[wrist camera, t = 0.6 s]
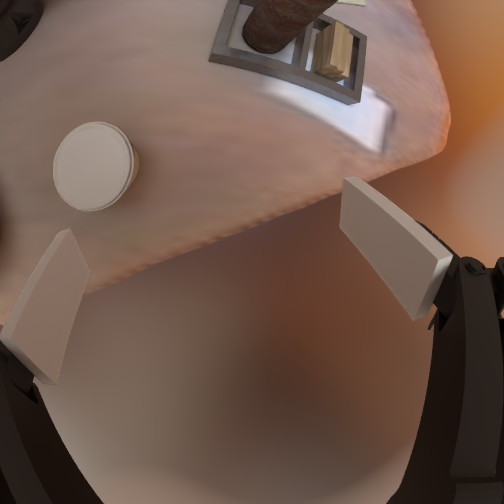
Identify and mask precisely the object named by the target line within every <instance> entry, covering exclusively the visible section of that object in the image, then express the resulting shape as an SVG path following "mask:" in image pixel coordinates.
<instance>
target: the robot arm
mask: <svg viewBox="0 0 504 504" xmlns="http://www.w3.org/2000/svg"><path fill="white" fill-rule="evenodd" d="M43 9H44V3H43V0H0V61H2V60H4V59H5V58H7V57H8V56H10V55H11V54H12V53H13V52H14V51H16V50H17V49H18V48H19V47H20V46H21V45H22V44H23V43H24V41H25V40H26V39H27V38H28V37H29V35H30V34H31V33H32V31H33V30H34V28H35V27H36V25H37V24H38V22H39V20H40V18H41V15H42V13H43ZM340 229H341V230H342V231H343V232H344V233H345V234H346V235H347V236H348V238H349V239H350V240H351V241H352V243H353V244H354V245H355V246H356V247H357V249H358V250H359V251H360V252H361V253H362V254H363V256H364V257H365V258H366V259H367V261H368V262H369V263H370V264H371V266H372V267H373V268H374V269H375V270H376V272H377V273H378V274H379V276H380V277H381V278H382V280H383V281H384V282H385V284H386V285H387V286H388V287H389V289H390V290H391V291H392V292H393V294H394V295H395V297H396V298H397V299H398V301H399V302H400V303H401V305H402V306H403V307H404V309H405V310H406V312H407V313H408V314H409V316H410V317H411V319H412V320H413V321H414V320H416V319H418V318H421V317H423V316H425V315H427V314H428V312H429V310H430V308H431V306H432V304H433V303H434V304H435V306H436V307H437V308H438V309H437V311H436V313H435V315H434V317H433V319H432V320H431V323H430V324H429V327H428V330H430V329H431V327H432V326H433V324H434V336H433V349H432V359H431V367H430V373H429V380H428V386H427V392H426V397H425V403H424V407H423V412H422V416H421V421H420V425H419V429H418V433H417V437H416V440H415V443H414V447H413V450H412V454H411V457H410V460H409V463H408V466H407V469H406V471H405V474H404V477H403V479H402V482H401V484H400V487H399V488H398V490H397V491H396V493H395V494H394V495H393V496H392V497H391V498H390V499H389V500H388V502H387V503H386V504H504V318H502V316H501V312H502V310H503V309H504V257H500V258H499V259H498V260H497V262H496V265H495V267H494V268H486V267H485V266H484V265H483V264H482V263H481V262H480V261H478V260H477V259H475V258H472V257H467V256H466V257H462V258H460V257H459V256H458V255H457V254H456V253H455V252H454V251H453V250H452V249H451V248H450V247H449V246H447V245H446V244H445V243H444V242H443V241H442V240H441V239H439V238H438V237H437V236H436V235H435V234H434V233H432V231H431V230H430V229H428V228H427V227H426V226H425V225H423V224H422V223H420V222H418V221H416V220H414V219H412V218H411V217H410V216H408V215H407V214H406V213H405V212H404V211H402V210H401V209H400V208H398V207H397V206H396V205H395V204H394V203H392V202H391V201H390V200H388V199H387V198H386V197H384V196H383V195H381V194H380V193H379V192H378V191H376V190H375V189H374V188H372V187H371V186H369V185H368V184H367V183H365V182H364V181H363V180H361V179H360V178H358V177H357V176H354V177H343V188H342V203H341V215H340ZM90 276H91V271H90V269H89V267H88V265H87V263H86V261H85V259H84V257H83V255H82V252H81V250H80V248H79V246H78V244H77V242H76V239H75V237H74V235H73V232H72V230H71V228H69V229H65V230H62V231H59V232H58V233H57V235H56V236H55V238H54V239H53V240H52V242H51V243H50V245H49V246H48V248H47V249H46V251H45V252H44V254H43V255H42V257H41V259H40V260H39V262H38V263H37V265H36V267H35V268H34V270H33V271H32V273H31V275H30V277H29V278H28V280H27V282H26V283H25V285H24V287H23V289H22V291H21V292H20V294H19V296H18V298H17V300H16V302H15V304H14V306H13V308H12V310H11V312H10V314H9V316H8V318H7V320H6V322H5V325H4V327H3V329H2V331H1V334H0V504H104V503H103V502H102V501H101V499H100V498H99V497H98V496H97V495H96V493H95V492H94V490H93V489H92V487H91V486H90V485H89V484H88V482H87V480H86V479H85V477H84V476H83V474H82V473H81V471H80V470H79V468H78V467H77V465H76V463H75V462H74V460H73V459H72V457H71V455H70V454H69V452H68V450H67V448H66V447H65V445H64V443H63V441H62V439H61V437H60V436H59V434H58V432H57V430H56V428H55V426H54V424H53V422H52V419H51V417H50V415H49V413H48V411H47V409H46V406H45V404H44V402H43V399H42V397H41V394H40V392H39V389H38V387H37V386H36V384H34V383H33V378H34V376H35V377H36V378H37V379H38V380H40V381H41V382H42V383H43V384H49V385H57V382H58V377H59V373H60V369H61V365H62V361H63V357H64V353H65V349H66V346H67V342H68V339H69V335H70V332H71V329H72V326H73V322H74V319H75V316H76V313H77V310H78V308H79V305H80V302H81V299H82V296H83V294H84V291H85V288H86V286H87V283H88V281H89V278H90Z"/></svg>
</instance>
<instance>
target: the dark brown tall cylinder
mask: <svg viewBox="0 0 504 504" xmlns="http://www.w3.org/2000/svg"><path fill="white" fill-rule="evenodd" d="M337 1H338V0H259V1H258V3H257V4H256V6H255V7H254V9H253V10H252V12H251V14H250V15H249V17H248V19H247V20H246V22H245V24H244V26H243V35H244V37H245V39H246V40H247V42H248V43H249V44H250V45H251V46H253V47H254V48H256V49H257V50H258V51H261V52H266V53H276V52H279V51H280V50H282V49H283V48H284V47H285V46H286V45H287V44H288V43H289V42H290V41H292V40H293V39H294V38H295V37H296V36H297V35H298V34H299V33H300V32H301V31H302V30H303V29H304V28H305V27H306V26H308V25H309V24H310V23H311V22H312V21H314V20H315V19H316V18H317V17H318V16H320V15H321V14H322V13H323V12H324V11H325V10H327V9H328V8H330V7H331V6H332V5H333V4H335V3H336V2H337Z"/></svg>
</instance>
